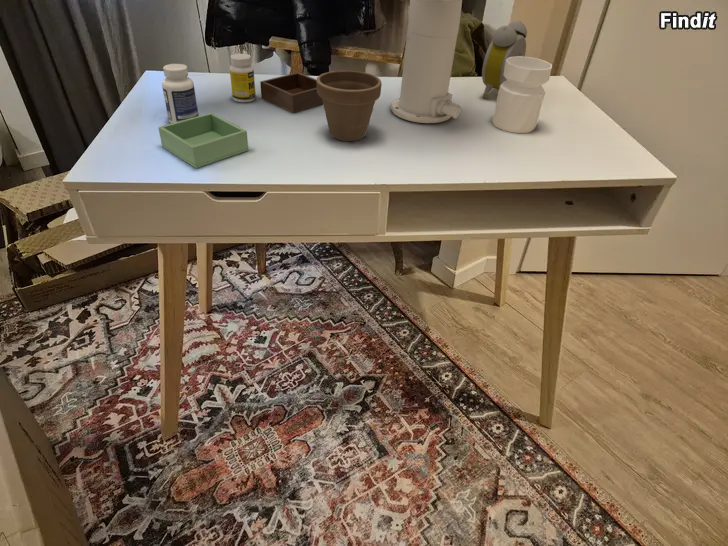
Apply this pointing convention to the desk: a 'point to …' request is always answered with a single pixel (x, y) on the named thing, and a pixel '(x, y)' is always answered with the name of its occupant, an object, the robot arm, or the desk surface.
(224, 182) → the desk surface
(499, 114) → the vase
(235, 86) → the supplement bottle
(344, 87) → the flower pot
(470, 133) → the desk surface
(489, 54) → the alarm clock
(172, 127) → the green tray
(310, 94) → the walnut tray
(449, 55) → the robot arm
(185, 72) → the pill bottle
